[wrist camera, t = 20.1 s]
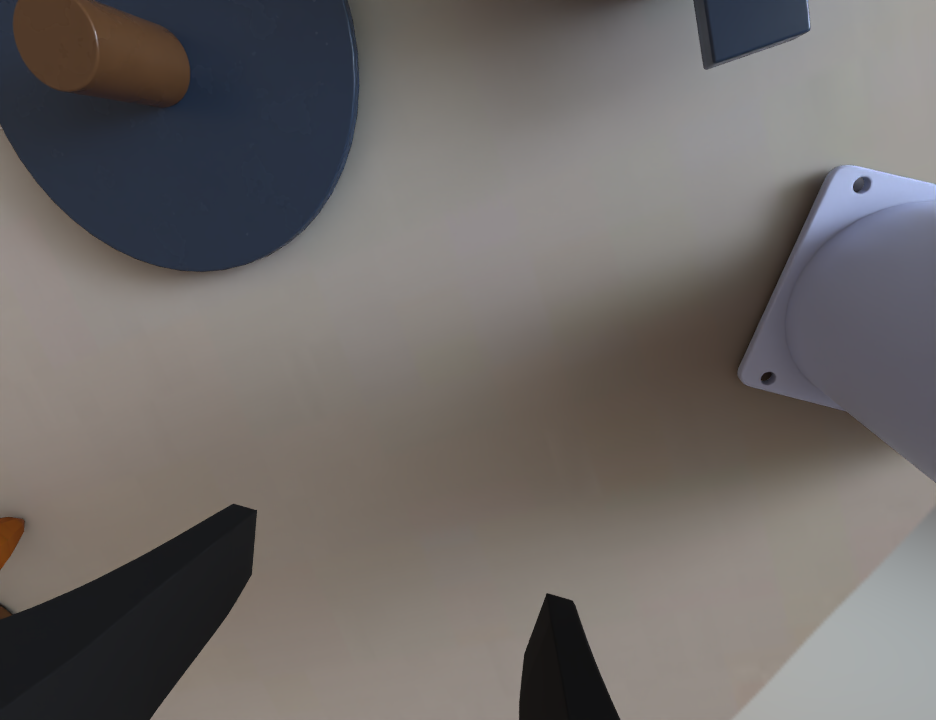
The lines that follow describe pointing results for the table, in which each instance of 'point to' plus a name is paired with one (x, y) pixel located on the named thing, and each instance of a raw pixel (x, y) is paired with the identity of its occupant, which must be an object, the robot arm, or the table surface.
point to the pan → (747, 26)
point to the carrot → (9, 536)
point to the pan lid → (182, 119)
